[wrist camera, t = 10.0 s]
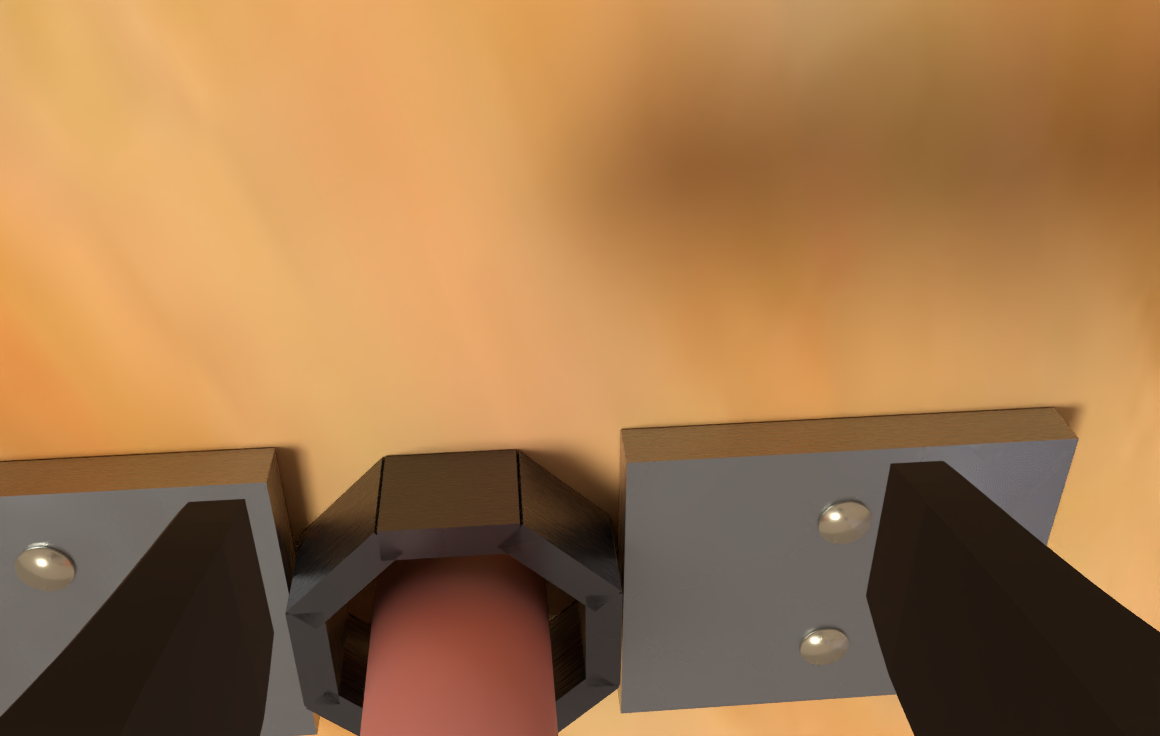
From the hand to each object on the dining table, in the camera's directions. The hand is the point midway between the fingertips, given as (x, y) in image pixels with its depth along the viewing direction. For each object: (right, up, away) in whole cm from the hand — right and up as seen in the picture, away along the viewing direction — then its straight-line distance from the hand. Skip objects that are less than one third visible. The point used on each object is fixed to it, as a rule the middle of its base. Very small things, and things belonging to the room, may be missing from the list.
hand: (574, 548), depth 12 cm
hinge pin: (-3, -3, +14) cm, 15 cm away
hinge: (-3, -3, +14) cm, 15 cm away
